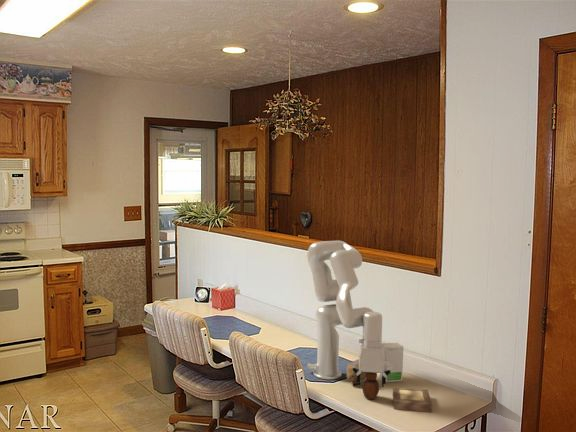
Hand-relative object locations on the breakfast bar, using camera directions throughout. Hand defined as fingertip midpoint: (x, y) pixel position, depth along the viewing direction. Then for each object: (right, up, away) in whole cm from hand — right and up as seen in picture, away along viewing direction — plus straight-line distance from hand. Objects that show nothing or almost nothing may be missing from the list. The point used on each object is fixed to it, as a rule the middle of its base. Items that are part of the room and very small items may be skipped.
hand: (371, 384), depth 219 cm
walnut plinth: (+15, -6, -4) cm, 17 cm away
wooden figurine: (0, -6, +1) cm, 6 cm away
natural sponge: (-4, -4, +15) cm, 16 cm away
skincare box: (+12, -4, +21) cm, 24 cm away
